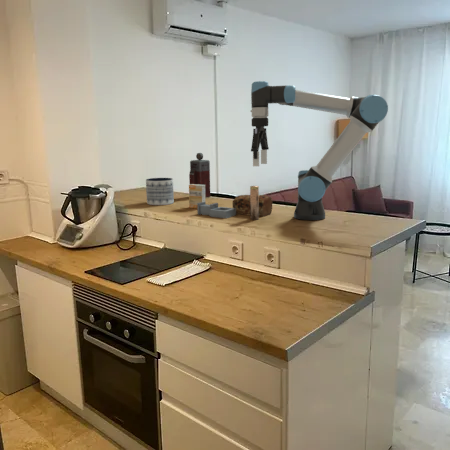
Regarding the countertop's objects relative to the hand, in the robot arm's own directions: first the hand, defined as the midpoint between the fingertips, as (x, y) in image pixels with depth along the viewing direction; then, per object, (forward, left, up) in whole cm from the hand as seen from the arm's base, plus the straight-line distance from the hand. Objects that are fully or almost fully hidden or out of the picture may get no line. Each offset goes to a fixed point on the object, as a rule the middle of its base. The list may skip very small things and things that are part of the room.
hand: (260, 165), depth 213 cm
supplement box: (-19, -49, -27) cm, 59 cm away
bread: (-18, -14, -27) cm, 35 cm away
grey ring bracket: (-6, -29, -27) cm, 40 cm away
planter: (-22, -78, -27) cm, 86 cm away
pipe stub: (-6, -6, -27) cm, 28 cm away
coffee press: (-52, -71, -27) cm, 92 cm away
